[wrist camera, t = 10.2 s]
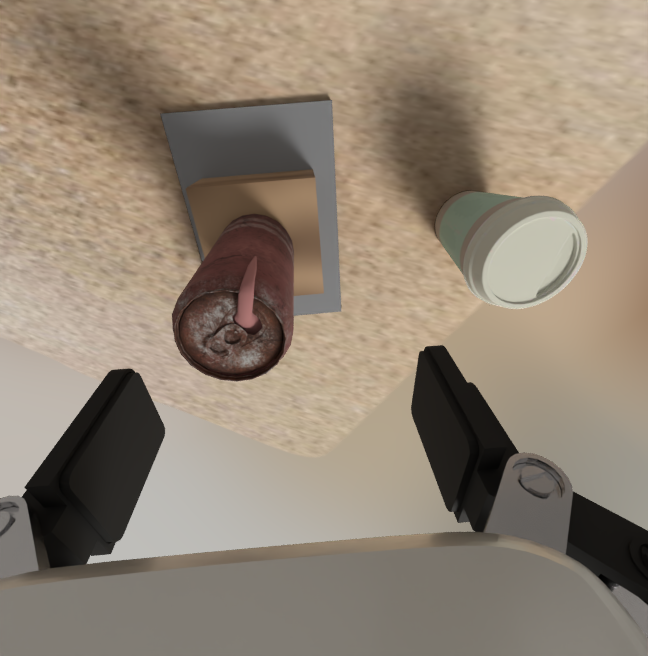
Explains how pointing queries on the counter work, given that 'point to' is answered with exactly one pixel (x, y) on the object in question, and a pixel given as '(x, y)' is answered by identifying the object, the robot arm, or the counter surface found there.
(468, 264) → the coffee cup
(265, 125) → the mat
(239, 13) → the counter surface
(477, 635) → the robot arm
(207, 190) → the block
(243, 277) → the can
